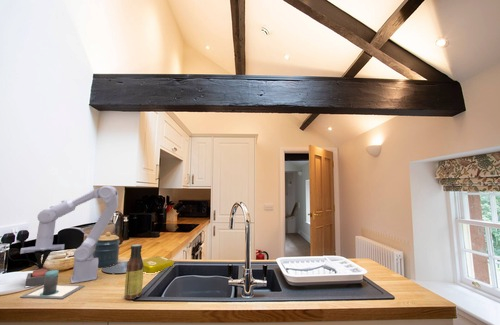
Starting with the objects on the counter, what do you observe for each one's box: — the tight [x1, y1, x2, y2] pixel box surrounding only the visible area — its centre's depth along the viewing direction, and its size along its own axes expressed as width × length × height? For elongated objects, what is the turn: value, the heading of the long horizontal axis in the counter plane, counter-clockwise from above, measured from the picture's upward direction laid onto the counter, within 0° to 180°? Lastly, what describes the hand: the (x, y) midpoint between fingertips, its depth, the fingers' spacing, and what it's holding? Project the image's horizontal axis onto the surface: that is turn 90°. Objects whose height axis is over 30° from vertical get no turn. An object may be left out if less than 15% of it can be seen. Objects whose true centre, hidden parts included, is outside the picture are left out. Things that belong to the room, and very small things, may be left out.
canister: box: [92, 231, 121, 269], centre depth 129 cm, size 13×13×18 cm
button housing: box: [24, 269, 51, 287], centre depth 100 cm, size 8×8×4 cm
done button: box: [31, 268, 48, 277], centre depth 101 cm, size 5×5×3 cm
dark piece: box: [43, 269, 60, 295], centre depth 90 cm, size 4×4×8 cm
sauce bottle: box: [123, 243, 144, 300], centre depth 92 cm, size 7×6×20 cm
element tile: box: [142, 255, 174, 273], centre depth 124 cm, size 15×15×5 cm
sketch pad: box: [19, 283, 86, 300], centre depth 92 cm, size 16×12×1 cm
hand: (40, 268), depth 101 cm, fingers closed
